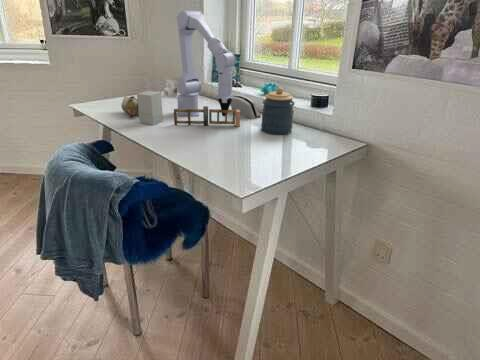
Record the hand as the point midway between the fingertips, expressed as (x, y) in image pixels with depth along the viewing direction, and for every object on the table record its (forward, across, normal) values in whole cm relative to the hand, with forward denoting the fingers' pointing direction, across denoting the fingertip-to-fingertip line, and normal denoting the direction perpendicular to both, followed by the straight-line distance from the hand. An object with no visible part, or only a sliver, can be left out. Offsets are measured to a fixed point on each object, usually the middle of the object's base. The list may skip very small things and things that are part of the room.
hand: (224, 115), depth 152 cm
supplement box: (+4, 0, +32) cm, 32 cm away
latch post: (+4, -1, -6) cm, 7 cm away
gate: (+3, -2, +1) cm, 4 cm away
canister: (+4, -6, -22) cm, 23 cm away
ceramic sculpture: (+4, +12, +42) cm, 44 cm away
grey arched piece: (+4, +18, -9) cm, 20 cm away
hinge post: (+4, -2, +8) cm, 9 cm away
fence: (+4, -2, +15) cm, 16 cm away
